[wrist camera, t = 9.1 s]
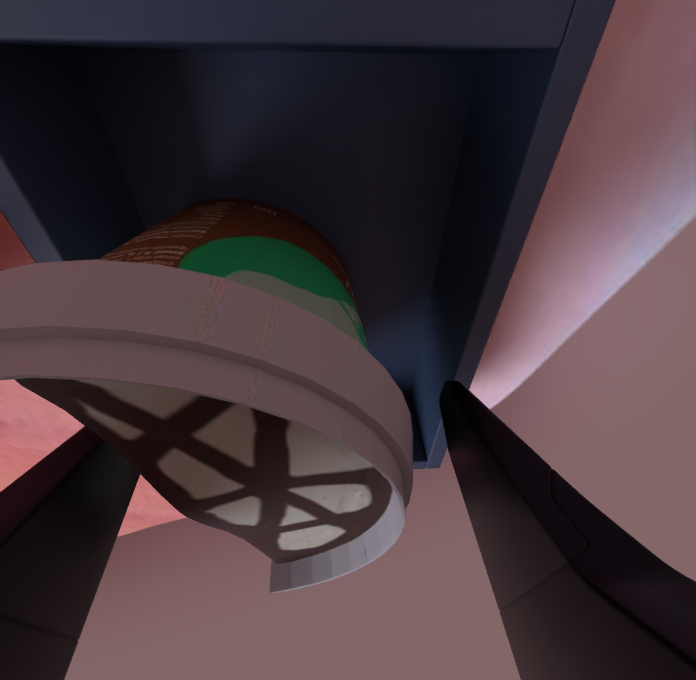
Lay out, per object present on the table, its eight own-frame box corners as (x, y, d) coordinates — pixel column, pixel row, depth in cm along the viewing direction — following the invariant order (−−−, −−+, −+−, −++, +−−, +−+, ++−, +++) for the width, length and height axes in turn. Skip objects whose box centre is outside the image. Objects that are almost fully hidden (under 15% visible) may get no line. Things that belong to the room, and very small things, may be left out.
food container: (397, 361, 18) (449, 572, 11) (295, 385, 19) (276, 597, 12) (333, 103, 11) (359, 206, 3) (165, 161, 11) (-158, 360, 4)
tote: (207, 403, 21) (181, 481, 17) (41, 11, 9) (-160, -26, 5) (418, 394, 21) (439, 468, 17) (505, 20, 10) (620, -8, 6)
